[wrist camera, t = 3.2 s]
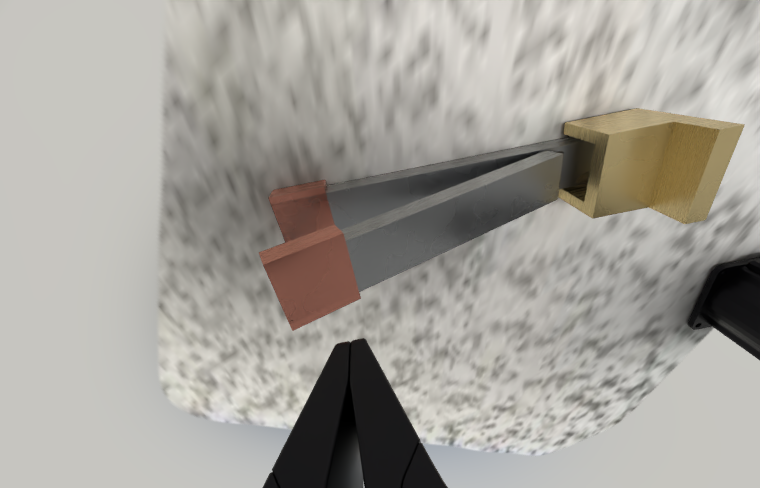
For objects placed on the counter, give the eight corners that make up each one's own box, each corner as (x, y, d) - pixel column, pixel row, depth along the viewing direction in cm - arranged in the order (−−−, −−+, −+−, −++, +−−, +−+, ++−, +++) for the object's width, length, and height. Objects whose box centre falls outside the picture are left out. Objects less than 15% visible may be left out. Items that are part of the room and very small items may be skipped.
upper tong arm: (552, 141, 16) (570, 144, 16) (546, 197, 18) (562, 202, 17) (258, 252, 11) (263, 264, 11) (286, 316, 13) (292, 330, 12)
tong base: (631, 118, 17) (649, 121, 16) (619, 173, 19) (634, 179, 18) (272, 190, 17) (268, 198, 16) (290, 238, 19) (287, 248, 18)
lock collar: (637, 108, 17) (744, 124, 12) (619, 182, 19) (705, 219, 15) (564, 122, 17) (646, 144, 12) (555, 195, 19) (621, 236, 15)
